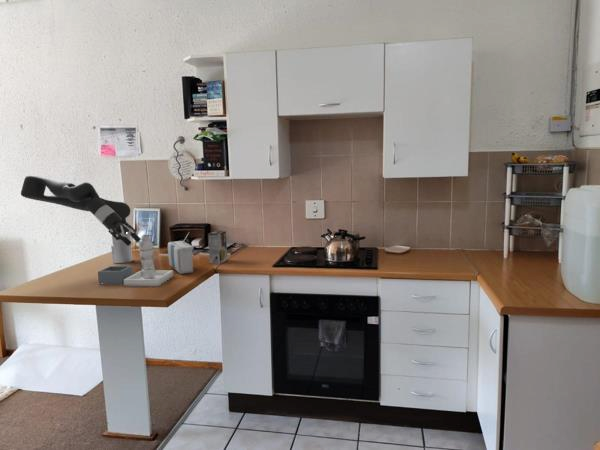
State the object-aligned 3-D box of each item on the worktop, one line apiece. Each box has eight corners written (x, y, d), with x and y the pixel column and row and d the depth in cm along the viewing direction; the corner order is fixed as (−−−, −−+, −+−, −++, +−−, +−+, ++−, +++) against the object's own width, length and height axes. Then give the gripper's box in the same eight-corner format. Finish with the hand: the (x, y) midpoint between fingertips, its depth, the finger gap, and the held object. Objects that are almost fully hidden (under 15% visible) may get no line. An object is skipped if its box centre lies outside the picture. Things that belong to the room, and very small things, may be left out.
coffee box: (217, 259, 236) (215, 230, 234) (227, 260, 234) (226, 230, 232) (209, 263, 227) (207, 233, 225) (220, 263, 226) (218, 233, 223)
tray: (124, 286, 189) (123, 279, 188) (141, 276, 204) (140, 270, 204) (159, 286, 187) (158, 279, 187) (173, 276, 203) (173, 270, 202)
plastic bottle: (141, 281, 191) (138, 237, 189) (141, 278, 198) (137, 235, 195) (157, 279, 194) (153, 236, 191) (155, 276, 200) (152, 234, 197)
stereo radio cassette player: (168, 267, 223) (165, 229, 220) (184, 264, 227) (181, 227, 224) (178, 275, 205) (175, 234, 202) (195, 272, 209) (192, 232, 206)
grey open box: (99, 284, 193) (97, 271, 192) (110, 278, 203) (109, 266, 202) (122, 284, 192) (121, 271, 191) (133, 278, 202) (132, 265, 201)
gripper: (111, 221, 200) (137, 245, 200) (94, 225, 186) (121, 251, 186) (121, 209, 199) (147, 234, 199) (104, 213, 185) (131, 239, 185)
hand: (134, 242), depth 193 cm, fingers open, 8 cm apart
